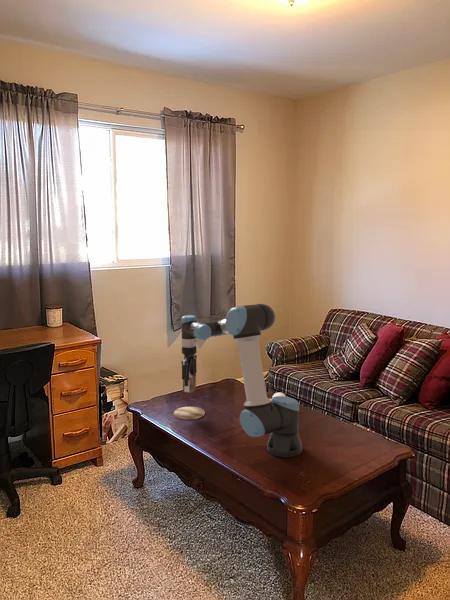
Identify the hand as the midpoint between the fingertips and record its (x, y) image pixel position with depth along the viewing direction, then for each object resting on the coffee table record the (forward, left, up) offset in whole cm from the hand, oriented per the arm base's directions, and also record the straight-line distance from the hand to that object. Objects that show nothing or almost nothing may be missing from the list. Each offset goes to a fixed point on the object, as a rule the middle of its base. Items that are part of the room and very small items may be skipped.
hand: (189, 389), depth 252 cm
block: (0, 0, 0) cm, 0 cm away
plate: (0, 0, -13) cm, 13 cm away
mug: (+22, -40, -13) cm, 47 cm away
